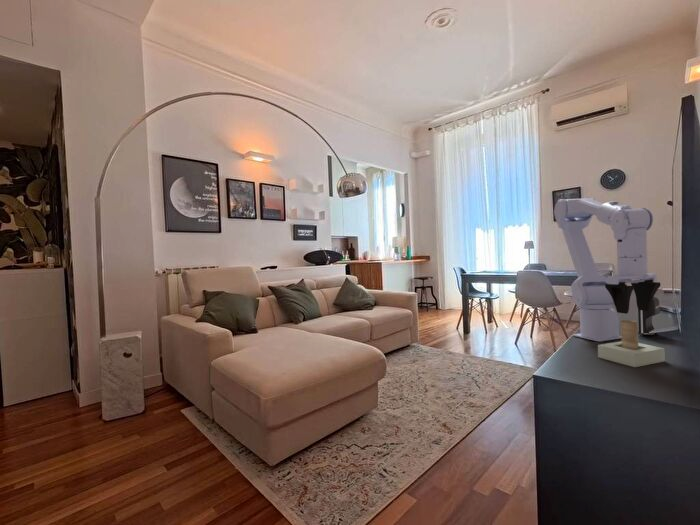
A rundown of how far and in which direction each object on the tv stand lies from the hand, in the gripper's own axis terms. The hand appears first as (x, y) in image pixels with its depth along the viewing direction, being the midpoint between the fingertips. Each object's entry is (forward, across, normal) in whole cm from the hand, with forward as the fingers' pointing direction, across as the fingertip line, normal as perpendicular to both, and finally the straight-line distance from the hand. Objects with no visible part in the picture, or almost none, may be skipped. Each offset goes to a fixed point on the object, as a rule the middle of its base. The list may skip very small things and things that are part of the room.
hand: (633, 311), depth 84 cm
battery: (+10, +23, +10) cm, 27 cm away
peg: (+10, -6, -3) cm, 12 cm away
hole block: (+10, -6, -3) cm, 12 cm away
